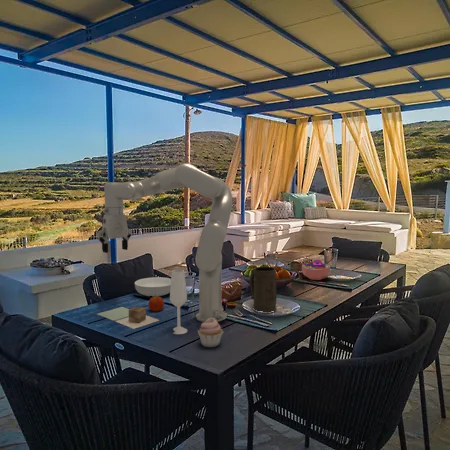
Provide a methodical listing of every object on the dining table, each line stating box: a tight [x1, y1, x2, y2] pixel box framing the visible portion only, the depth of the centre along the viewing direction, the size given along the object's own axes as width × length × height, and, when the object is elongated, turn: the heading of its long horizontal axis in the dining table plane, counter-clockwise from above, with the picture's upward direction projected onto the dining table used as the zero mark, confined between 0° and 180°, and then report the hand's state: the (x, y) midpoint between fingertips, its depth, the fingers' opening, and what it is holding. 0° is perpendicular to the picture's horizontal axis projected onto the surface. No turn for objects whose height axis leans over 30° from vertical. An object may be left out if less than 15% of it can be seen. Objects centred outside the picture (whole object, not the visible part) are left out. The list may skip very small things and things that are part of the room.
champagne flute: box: [169, 269, 188, 335], centre depth 152 cm, size 7×7×24 cm
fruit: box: [148, 294, 165, 313], centre depth 176 cm, size 7×7×8 cm
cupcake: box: [197, 318, 224, 348], centre depth 140 cm, size 9×9×10 cm
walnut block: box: [128, 306, 147, 323], centre depth 163 cm, size 5×5×5 cm
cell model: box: [301, 259, 331, 281], centre depth 235 cm, size 17×20×11 cm
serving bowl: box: [134, 276, 171, 298], centre depth 204 cm, size 21×21×7 cm
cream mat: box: [115, 314, 160, 330], centre depth 163 cm, size 13×13×1 cm
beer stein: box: [249, 266, 277, 312], centre depth 179 cm, size 15×10×20 cm
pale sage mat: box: [96, 306, 131, 321], centre depth 172 cm, size 13×13×1 cm
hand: (115, 250), depth 169 cm, fingers open, 9 cm apart
